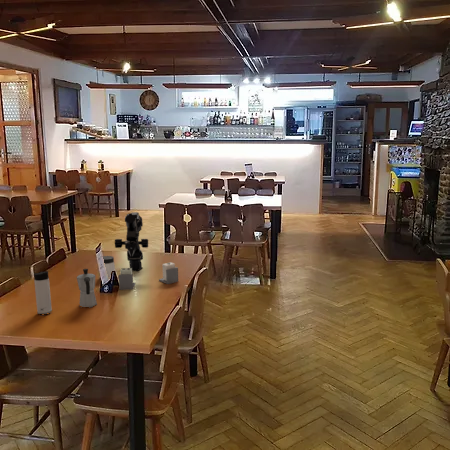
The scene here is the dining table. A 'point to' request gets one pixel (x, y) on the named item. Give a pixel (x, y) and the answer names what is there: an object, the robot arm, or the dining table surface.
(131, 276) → the housing
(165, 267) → the plunger
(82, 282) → the coffee maker
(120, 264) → the dining table surface
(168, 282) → the housing
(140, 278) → the dining table surface
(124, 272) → the block with two buttons
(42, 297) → the travel mug
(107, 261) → the jar
